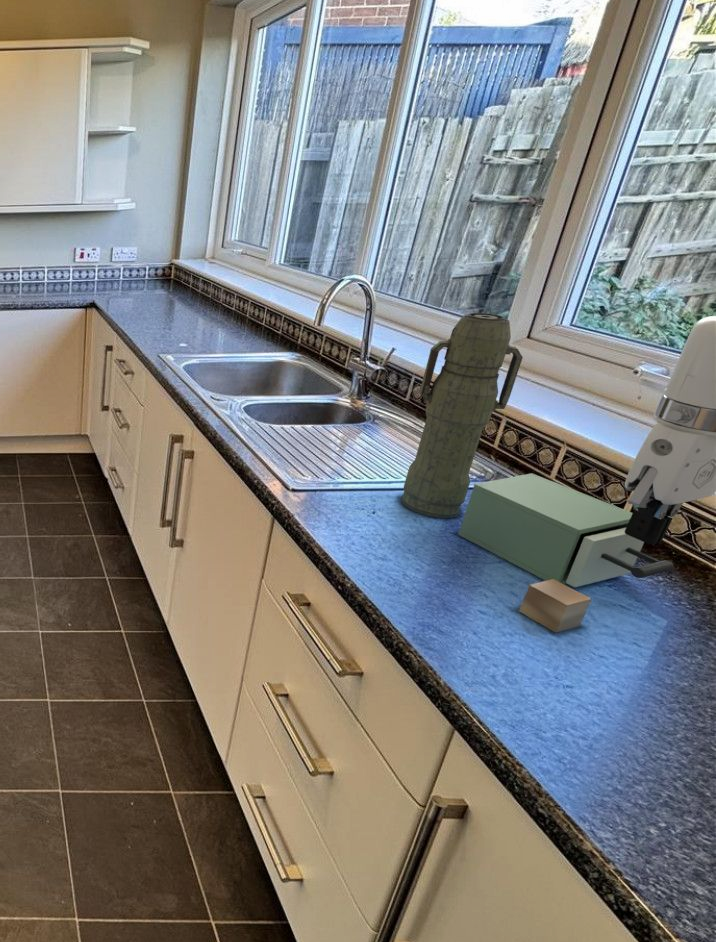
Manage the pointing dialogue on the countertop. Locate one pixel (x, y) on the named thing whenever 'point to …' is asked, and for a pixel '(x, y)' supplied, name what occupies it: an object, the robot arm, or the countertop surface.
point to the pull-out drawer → (610, 557)
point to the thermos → (458, 412)
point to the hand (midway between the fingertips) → (641, 538)
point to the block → (554, 605)
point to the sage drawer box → (535, 522)
